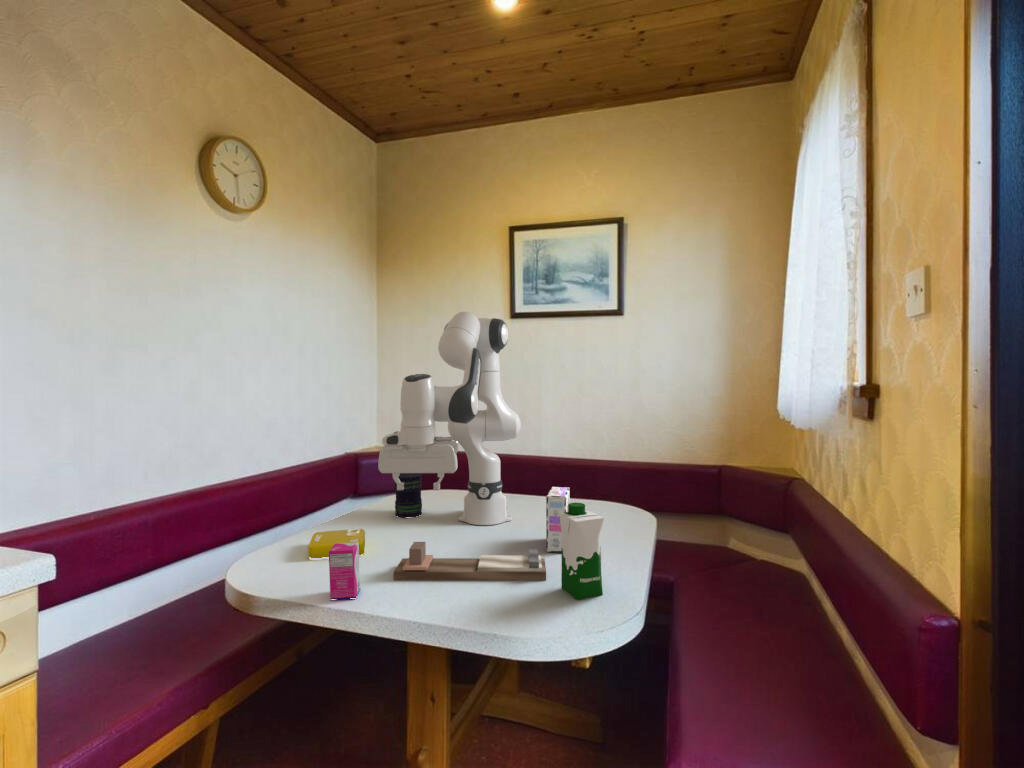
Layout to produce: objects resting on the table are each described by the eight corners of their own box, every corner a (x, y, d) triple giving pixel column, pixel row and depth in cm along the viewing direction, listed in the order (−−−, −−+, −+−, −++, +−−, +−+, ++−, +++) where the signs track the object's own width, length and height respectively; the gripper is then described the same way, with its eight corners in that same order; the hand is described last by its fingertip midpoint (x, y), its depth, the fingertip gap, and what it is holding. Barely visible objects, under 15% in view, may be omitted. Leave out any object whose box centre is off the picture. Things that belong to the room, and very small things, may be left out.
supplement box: (335, 590, 123) (334, 542, 123) (360, 589, 124) (360, 541, 124) (328, 601, 118) (328, 550, 118) (355, 599, 118) (355, 549, 118)
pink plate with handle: (410, 557, 139) (410, 539, 139) (433, 557, 139) (432, 539, 139) (402, 570, 130) (402, 551, 130) (426, 570, 130) (426, 551, 130)
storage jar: (419, 518, 188) (418, 476, 188) (392, 518, 188) (391, 477, 188) (424, 511, 198) (423, 472, 198) (398, 511, 198) (398, 472, 198)
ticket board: (402, 565, 140) (402, 548, 140) (544, 565, 139) (544, 548, 139) (393, 580, 130) (393, 561, 130) (546, 580, 129) (546, 561, 129)
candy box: (566, 553, 148) (566, 496, 148) (545, 552, 150) (545, 495, 149) (570, 539, 162) (570, 486, 162) (551, 538, 163) (551, 485, 163)
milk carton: (587, 582, 128) (587, 500, 127) (608, 596, 119) (608, 508, 119) (556, 588, 124) (555, 504, 124) (575, 602, 116) (574, 513, 116)
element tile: (313, 546, 158) (313, 530, 158) (365, 542, 162) (365, 526, 162) (307, 562, 144) (307, 545, 144) (364, 557, 147) (363, 540, 147)
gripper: (459, 435, 138) (460, 487, 138) (382, 435, 138) (383, 487, 139) (456, 438, 132) (457, 492, 132) (376, 438, 132) (376, 492, 132)
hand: (418, 490), depth 135 cm, fingers open, 8 cm apart
